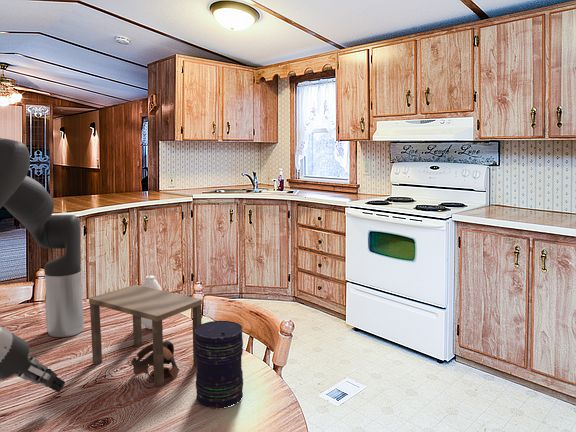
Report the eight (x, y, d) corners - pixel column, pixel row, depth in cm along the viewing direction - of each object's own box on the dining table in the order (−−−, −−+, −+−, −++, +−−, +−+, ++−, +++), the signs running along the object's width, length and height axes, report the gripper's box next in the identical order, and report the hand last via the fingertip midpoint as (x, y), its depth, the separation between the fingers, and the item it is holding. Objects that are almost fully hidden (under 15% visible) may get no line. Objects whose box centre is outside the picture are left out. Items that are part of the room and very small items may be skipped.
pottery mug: (173, 387, 108) (152, 359, 105) (140, 399, 111) (119, 372, 108) (191, 352, 119) (173, 326, 116) (161, 364, 121) (142, 339, 119)
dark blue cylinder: (191, 390, 105) (190, 324, 103) (235, 382, 109) (234, 318, 107) (202, 413, 96) (200, 341, 94) (249, 403, 100) (249, 333, 98)
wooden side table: (92, 362, 118) (88, 298, 116) (137, 343, 130) (135, 284, 128) (159, 387, 106) (157, 316, 104) (203, 364, 118) (201, 299, 116)
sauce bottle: (171, 326, 143) (169, 266, 140) (150, 335, 136) (148, 272, 134) (152, 321, 147) (150, 262, 144) (131, 329, 140) (129, 268, 138)
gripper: (28, 337, 85) (92, 376, 97) (-13, 323, 92) (52, 361, 104) (-1, 378, 81) (69, 414, 93) (-41, 360, 88) (29, 395, 100)
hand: (60, 386), depth 98 cm, fingers closed
